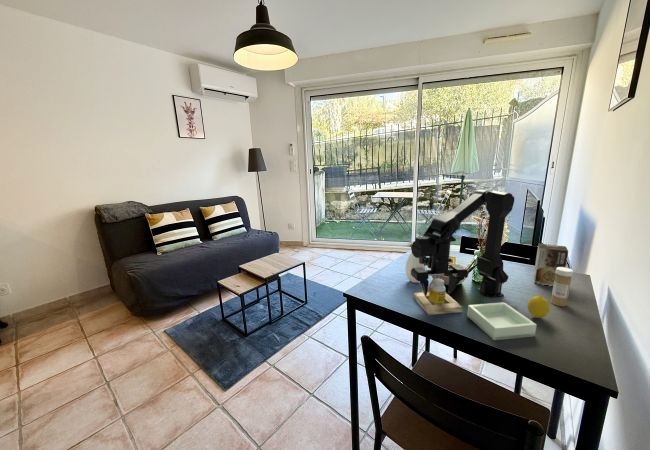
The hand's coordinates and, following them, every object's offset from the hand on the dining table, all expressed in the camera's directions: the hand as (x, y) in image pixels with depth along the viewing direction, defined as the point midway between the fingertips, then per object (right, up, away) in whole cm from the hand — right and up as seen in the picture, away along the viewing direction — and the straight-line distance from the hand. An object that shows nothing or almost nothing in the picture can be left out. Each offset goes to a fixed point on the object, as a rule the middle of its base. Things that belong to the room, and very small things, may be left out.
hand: (437, 294), depth 100 cm
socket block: (0, -4, +1) cm, 4 cm away
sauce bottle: (-2, 0, +19) cm, 19 cm away
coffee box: (+52, +1, +15) cm, 54 cm away
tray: (+15, -7, -12) cm, 20 cm away
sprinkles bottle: (+43, -3, 0) cm, 44 cm away
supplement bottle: (0, -4, +1) cm, 4 cm away
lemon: (+29, -6, -9) cm, 31 cm away
